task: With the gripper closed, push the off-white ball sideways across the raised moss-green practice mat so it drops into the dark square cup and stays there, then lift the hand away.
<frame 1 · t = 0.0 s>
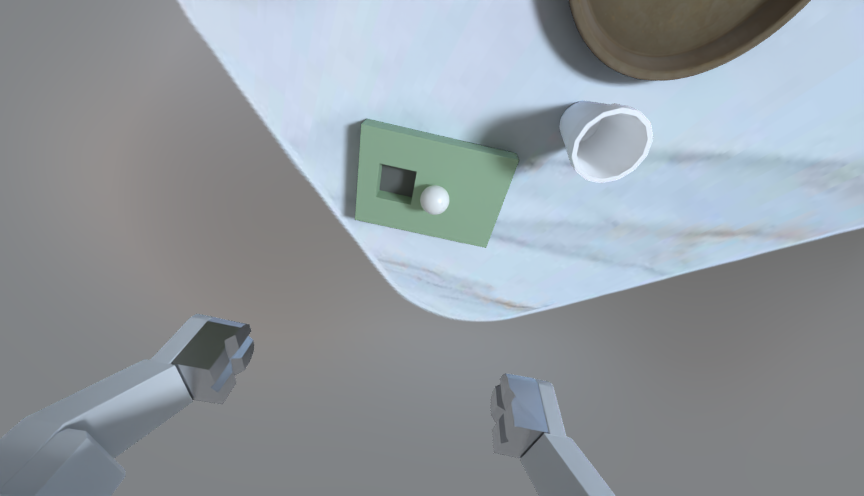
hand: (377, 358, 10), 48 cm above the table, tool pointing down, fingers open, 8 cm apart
ball: (434, 200, 53), point 6 cm above the table, touching green
foam cup: (579, 121, 50), on the table
green: (431, 184, 58), on the table
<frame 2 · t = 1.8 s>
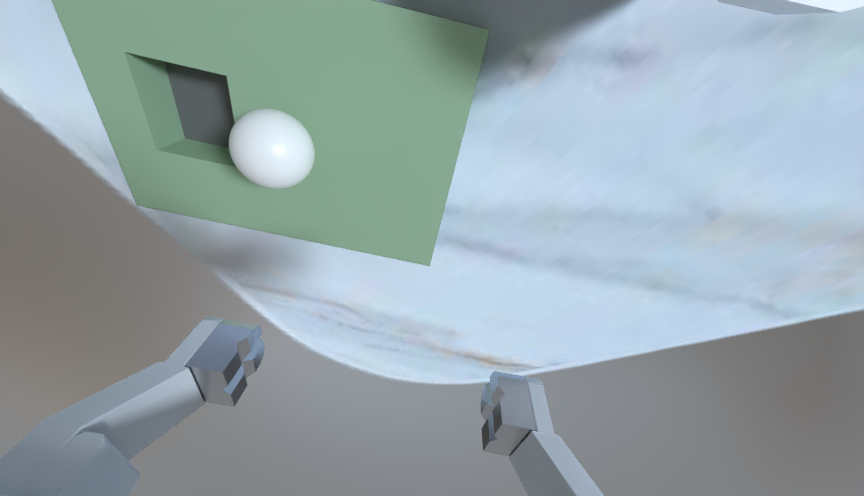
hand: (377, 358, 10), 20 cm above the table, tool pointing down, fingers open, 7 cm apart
ball: (274, 150, 20), point 6 cm above the table, touching green
green: (298, 123, 25), on the table
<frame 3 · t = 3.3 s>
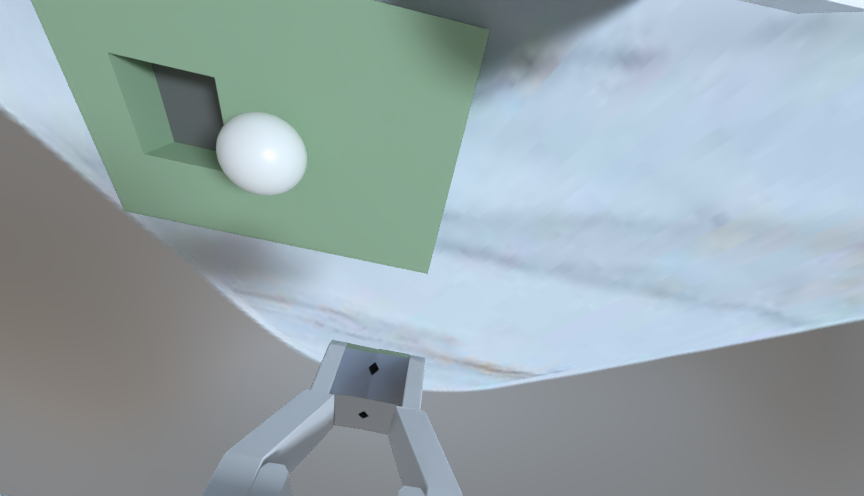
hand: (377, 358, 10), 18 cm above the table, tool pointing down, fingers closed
ball: (264, 155, 20), point 6 cm above the table, touching green
green: (291, 126, 24), on the table
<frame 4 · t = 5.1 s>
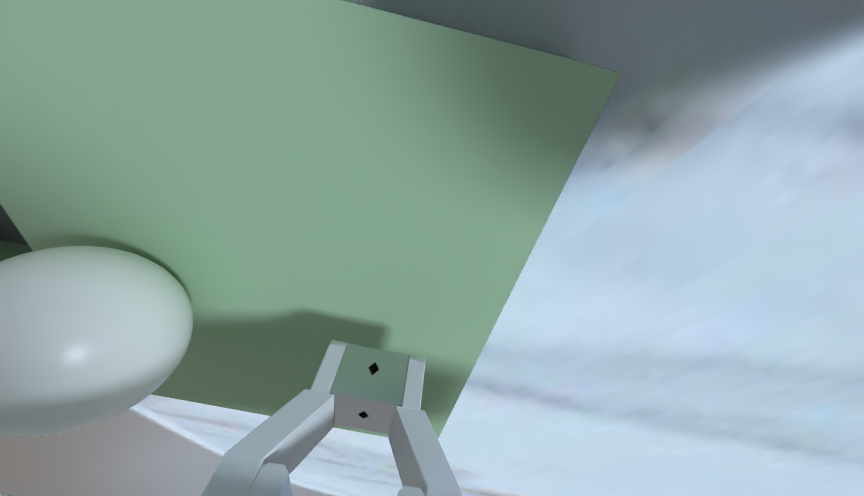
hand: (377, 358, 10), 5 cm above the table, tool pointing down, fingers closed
ball: (82, 333, 9), point 6 cm above the table, touching green
green: (194, 219, 14), on the table
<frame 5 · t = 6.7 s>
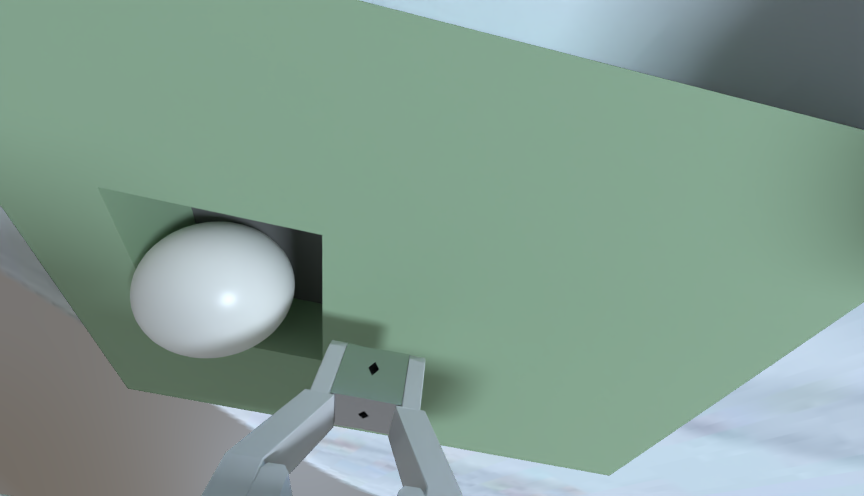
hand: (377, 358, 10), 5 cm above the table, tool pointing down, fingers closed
ball: (222, 288, 12), point 3 cm above the table, tilted 158°, touching green
green: (415, 265, 14), on the table
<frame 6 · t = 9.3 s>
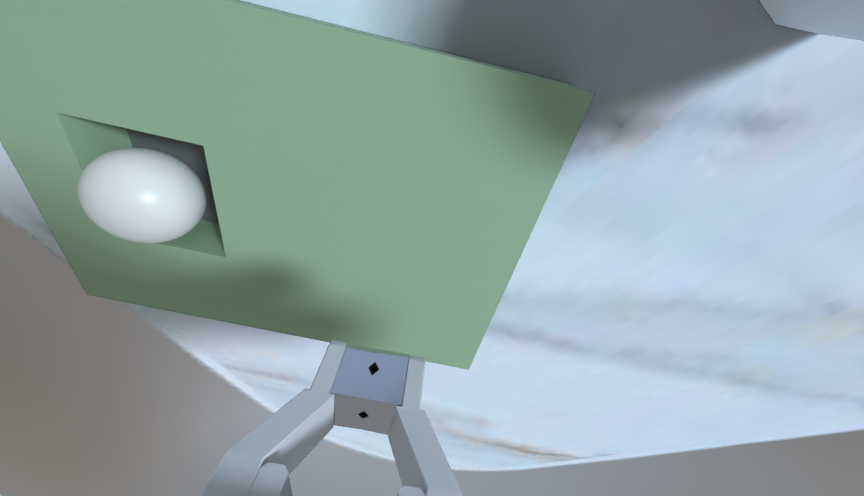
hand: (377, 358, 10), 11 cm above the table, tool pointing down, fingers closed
ball: (148, 196, 17), point 3 cm above the table, tilted 158°, touching green
green: (302, 193, 19), on the table
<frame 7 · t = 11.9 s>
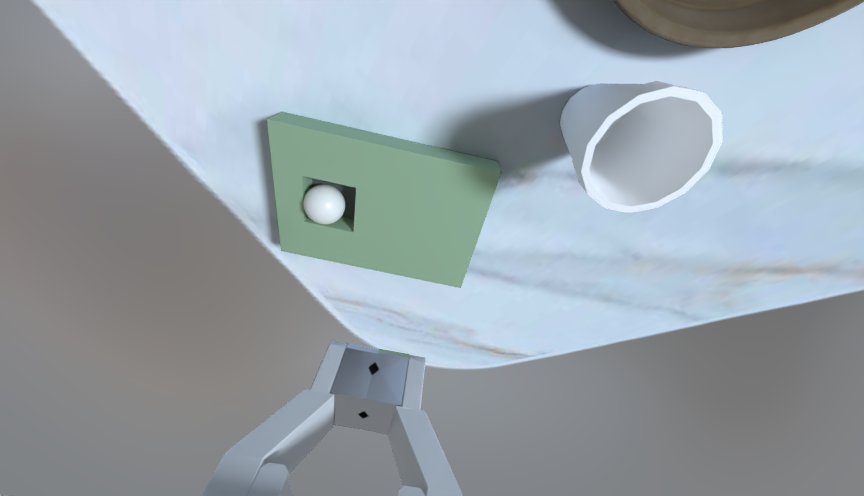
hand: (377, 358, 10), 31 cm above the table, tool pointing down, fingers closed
ball: (324, 204, 39), point 3 cm above the table, tilted 157°, touching green
foam cup: (589, 115, 34), on the table
green: (384, 203, 42), on the table
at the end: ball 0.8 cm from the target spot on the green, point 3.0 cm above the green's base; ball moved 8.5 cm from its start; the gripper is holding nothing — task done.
